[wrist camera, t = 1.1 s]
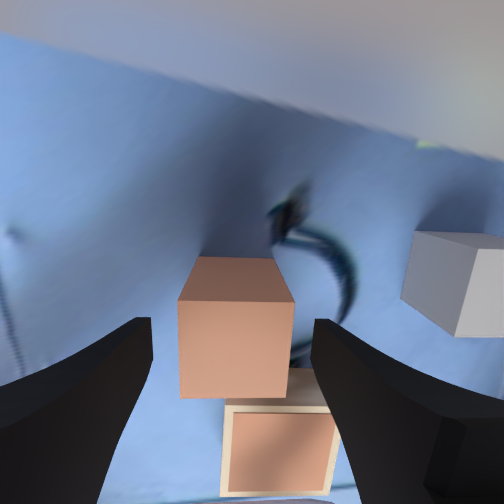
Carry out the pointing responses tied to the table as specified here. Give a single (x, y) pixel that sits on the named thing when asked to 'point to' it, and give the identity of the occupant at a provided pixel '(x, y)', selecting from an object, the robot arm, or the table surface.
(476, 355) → the table surface
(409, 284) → the grey block
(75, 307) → the table surface
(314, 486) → the maple base
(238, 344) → the terracotta block
